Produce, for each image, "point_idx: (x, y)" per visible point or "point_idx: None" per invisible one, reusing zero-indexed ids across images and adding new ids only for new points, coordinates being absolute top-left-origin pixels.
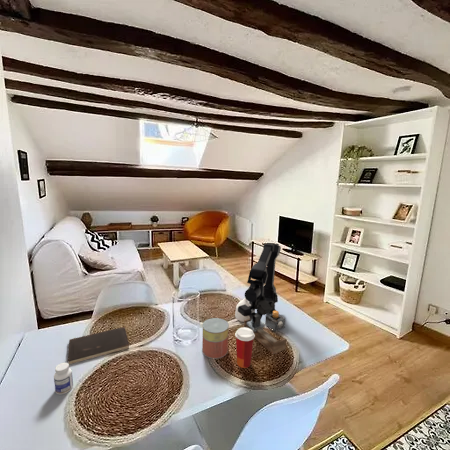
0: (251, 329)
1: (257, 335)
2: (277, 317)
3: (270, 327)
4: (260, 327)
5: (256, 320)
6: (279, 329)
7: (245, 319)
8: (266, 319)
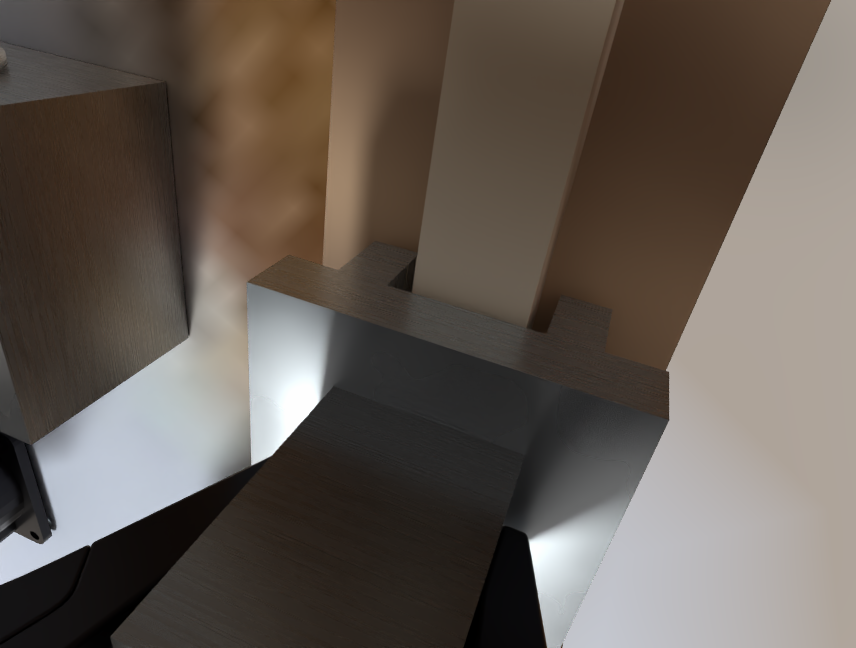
0: None
1: (666, 214)
2: None
3: (161, 211)
4: (420, 311)
5: (426, 588)
6: (48, 53)
7: None
8: (91, 375)
